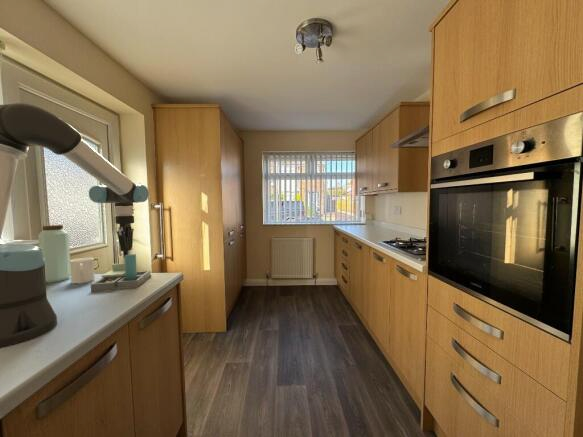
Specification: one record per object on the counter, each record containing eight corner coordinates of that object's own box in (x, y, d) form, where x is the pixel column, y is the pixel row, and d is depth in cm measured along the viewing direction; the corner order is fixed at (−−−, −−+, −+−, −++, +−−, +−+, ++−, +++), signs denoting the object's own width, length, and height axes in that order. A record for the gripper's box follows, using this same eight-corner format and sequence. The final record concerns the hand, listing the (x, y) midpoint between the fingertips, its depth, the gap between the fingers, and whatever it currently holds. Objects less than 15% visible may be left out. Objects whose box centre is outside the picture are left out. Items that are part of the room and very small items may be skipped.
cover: (123, 275, 108) (122, 267, 108) (101, 277, 106) (101, 268, 106) (131, 270, 116) (130, 262, 116) (111, 271, 115) (111, 263, 115)
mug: (69, 287, 104) (67, 263, 104) (72, 280, 114) (71, 259, 113) (94, 283, 109) (92, 261, 108) (95, 277, 119) (93, 256, 118)
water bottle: (77, 276, 121) (73, 224, 119) (59, 282, 111) (55, 226, 109) (55, 276, 120) (51, 224, 118) (35, 283, 110) (30, 226, 108)
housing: (136, 288, 102) (135, 281, 101) (91, 291, 98) (90, 284, 98) (151, 275, 119) (150, 269, 119) (113, 278, 116) (112, 272, 116)
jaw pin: (134, 284, 105) (133, 255, 104) (123, 284, 104) (122, 256, 103) (138, 281, 109) (137, 253, 108) (128, 281, 108) (127, 254, 107)
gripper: (127, 215, 115) (130, 266, 116) (138, 214, 128) (140, 260, 129) (109, 216, 113) (112, 267, 115) (122, 215, 126) (124, 261, 128)
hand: (127, 263), depth 122 cm, fingers closed
